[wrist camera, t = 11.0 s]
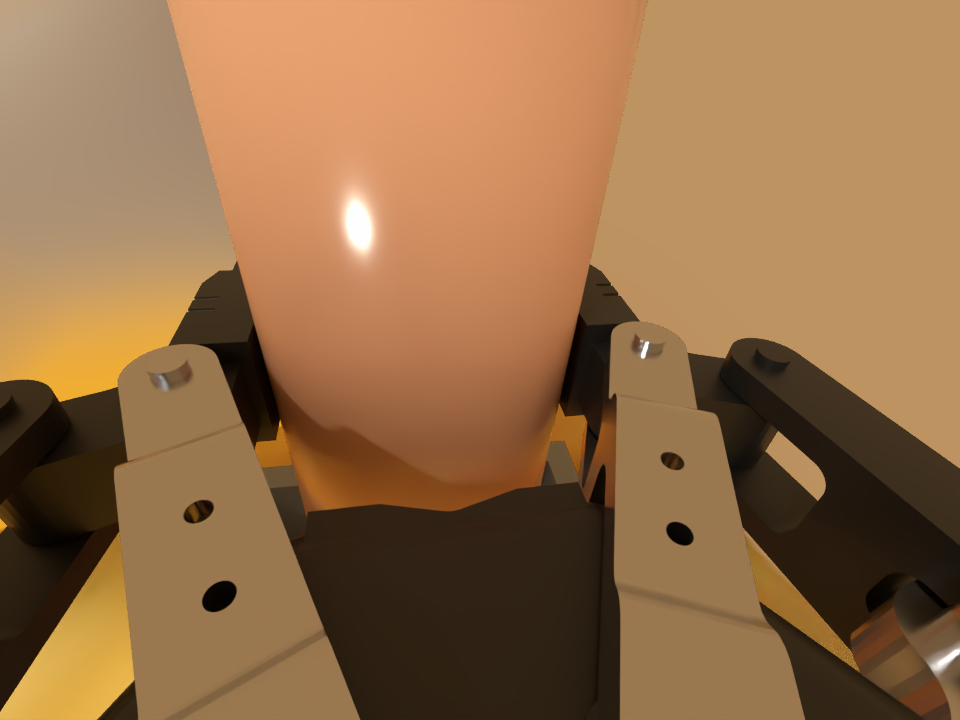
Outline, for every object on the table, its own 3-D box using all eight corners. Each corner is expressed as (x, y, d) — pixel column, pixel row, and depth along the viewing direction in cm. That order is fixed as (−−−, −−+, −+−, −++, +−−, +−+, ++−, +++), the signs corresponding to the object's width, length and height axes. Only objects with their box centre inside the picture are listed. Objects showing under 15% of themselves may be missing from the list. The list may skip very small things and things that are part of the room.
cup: (324, 701, 12) (4, -137, 3) (336, 512, 17) (218, -71, 7) (536, 663, 13) (777, -54, 4) (495, 494, 18) (567, -40, 8)
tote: (141, 1073, 13) (52, 1107, 10) (252, 531, 25) (228, 471, 22) (688, 914, 16) (753, 902, 13) (548, 498, 28) (564, 440, 25)
